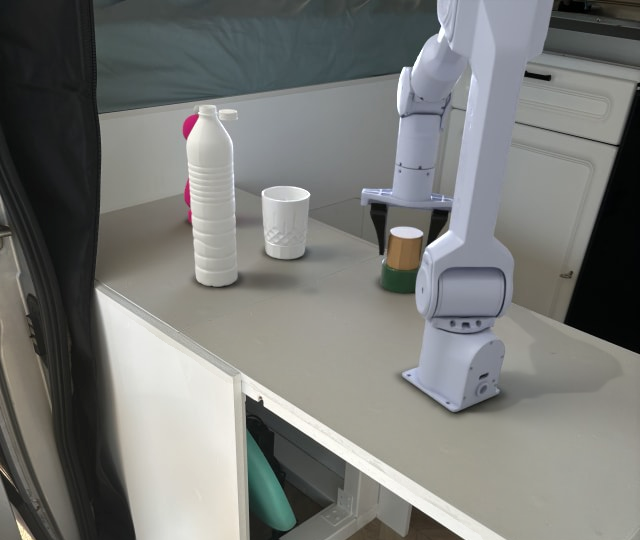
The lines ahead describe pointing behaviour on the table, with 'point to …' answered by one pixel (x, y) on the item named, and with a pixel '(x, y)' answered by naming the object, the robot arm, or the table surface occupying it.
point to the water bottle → (212, 197)
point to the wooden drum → (404, 248)
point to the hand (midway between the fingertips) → (403, 255)
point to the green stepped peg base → (398, 278)
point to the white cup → (285, 221)
